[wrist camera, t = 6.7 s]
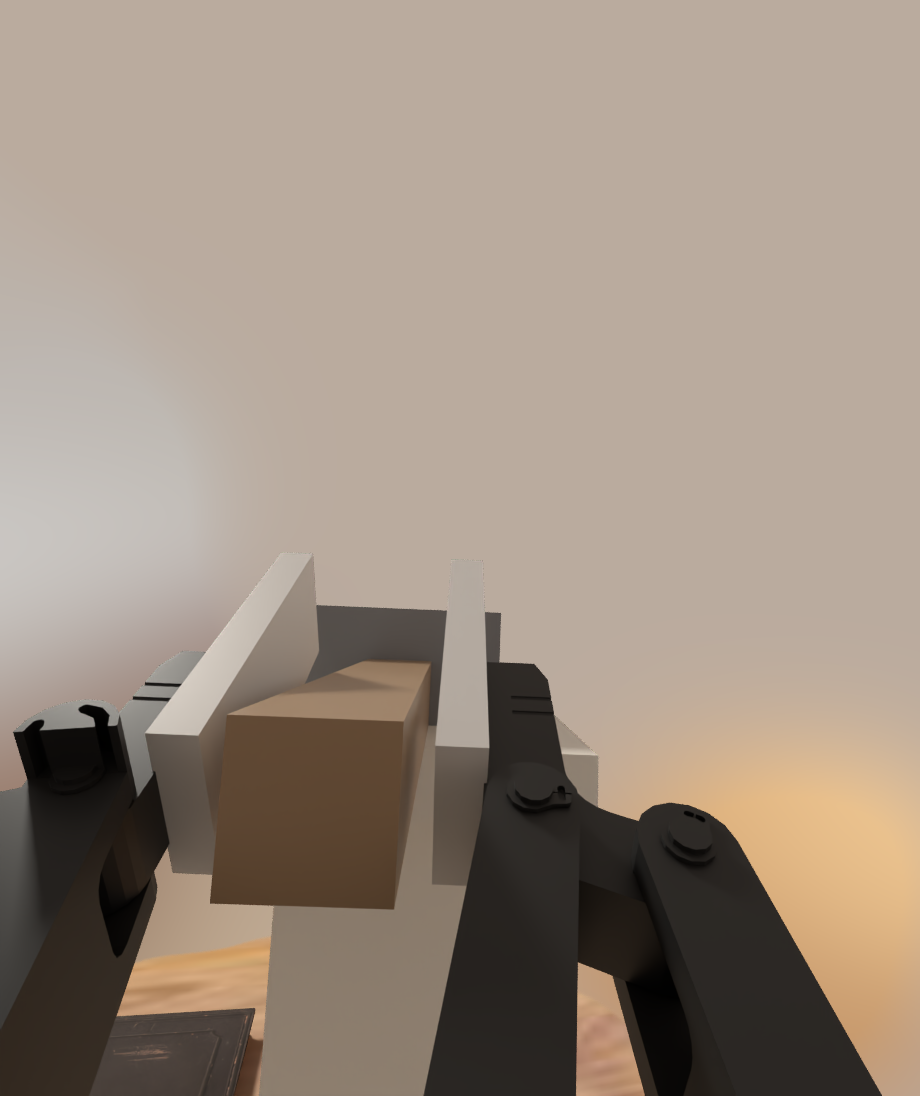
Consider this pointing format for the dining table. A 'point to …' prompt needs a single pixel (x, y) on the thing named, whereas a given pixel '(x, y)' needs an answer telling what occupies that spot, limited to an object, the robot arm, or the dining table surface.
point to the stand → (374, 969)
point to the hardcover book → (174, 1054)
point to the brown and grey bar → (333, 765)
